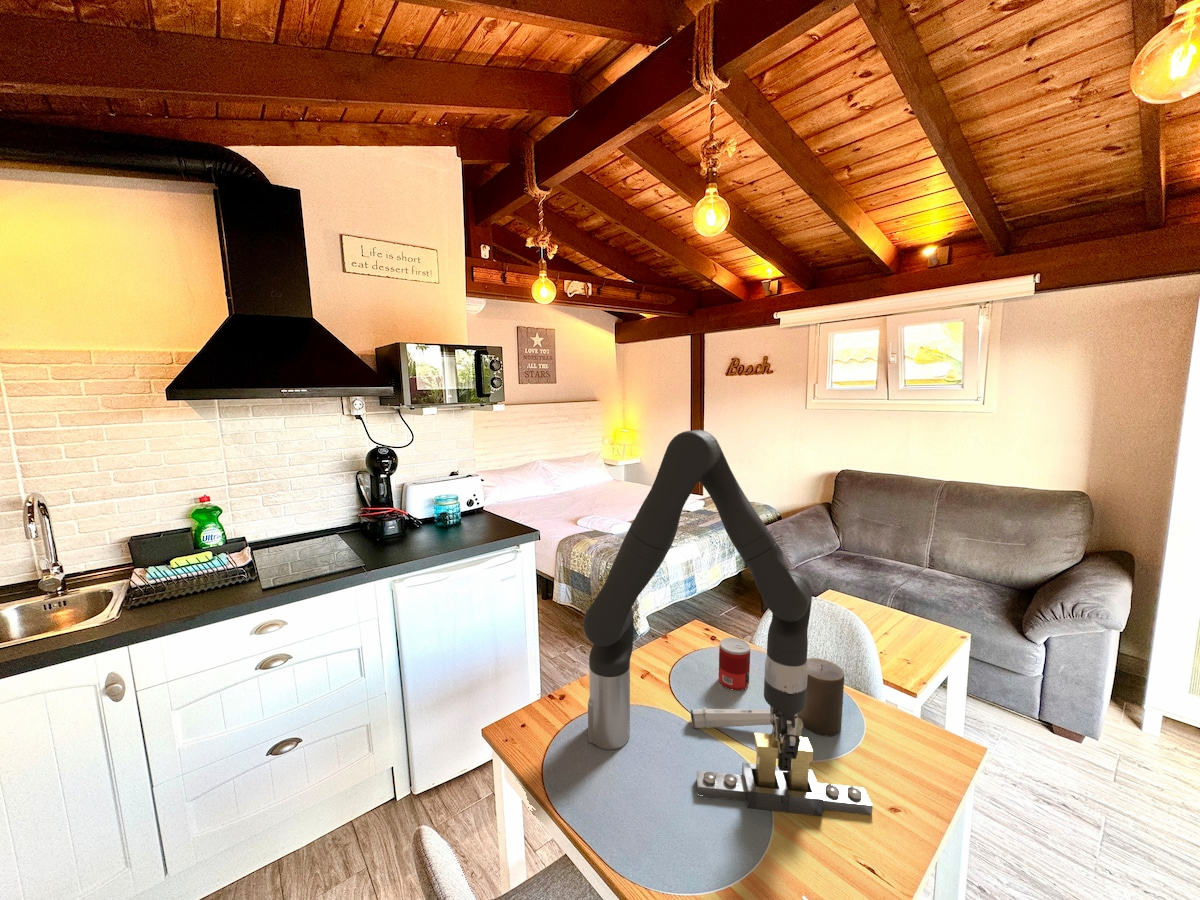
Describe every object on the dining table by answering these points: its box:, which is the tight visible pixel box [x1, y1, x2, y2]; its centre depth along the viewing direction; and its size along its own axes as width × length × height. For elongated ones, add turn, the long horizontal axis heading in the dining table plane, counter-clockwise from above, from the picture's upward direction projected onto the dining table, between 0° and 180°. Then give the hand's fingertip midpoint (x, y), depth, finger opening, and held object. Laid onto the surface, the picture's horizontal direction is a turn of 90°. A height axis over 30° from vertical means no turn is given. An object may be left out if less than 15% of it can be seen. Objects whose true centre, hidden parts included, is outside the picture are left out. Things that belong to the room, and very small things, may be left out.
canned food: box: [718, 637, 751, 691], centre depth 128 cm, size 8×8×11 cm
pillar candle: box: [797, 657, 845, 737], centre depth 112 cm, size 10×10×15 cm
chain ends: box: [696, 762, 874, 817], centre depth 92 cm, size 32×7×4 cm, turn 82°
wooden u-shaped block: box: [753, 732, 814, 792], centre depth 92 cm, size 10×4×10 cm, turn 82°
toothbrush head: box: [690, 706, 804, 737], centre depth 110 cm, size 5×7×25 cm
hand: (781, 760), depth 91 cm, fingers closed on wooden u-shaped block, 3 cm apart
